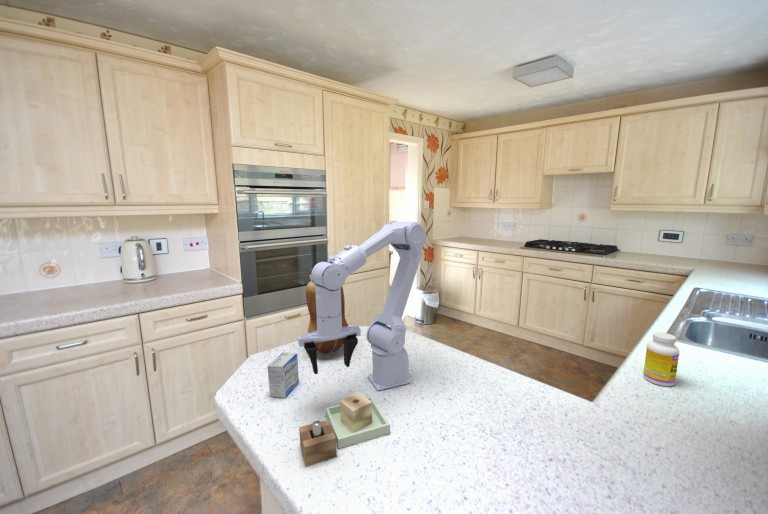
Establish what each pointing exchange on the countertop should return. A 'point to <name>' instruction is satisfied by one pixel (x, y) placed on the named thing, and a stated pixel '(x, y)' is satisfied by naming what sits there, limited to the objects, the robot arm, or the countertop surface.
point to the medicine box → (283, 374)
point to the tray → (368, 432)
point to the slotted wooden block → (317, 443)
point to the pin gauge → (316, 429)
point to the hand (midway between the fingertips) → (331, 368)
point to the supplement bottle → (661, 360)
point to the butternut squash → (324, 346)
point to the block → (356, 412)
